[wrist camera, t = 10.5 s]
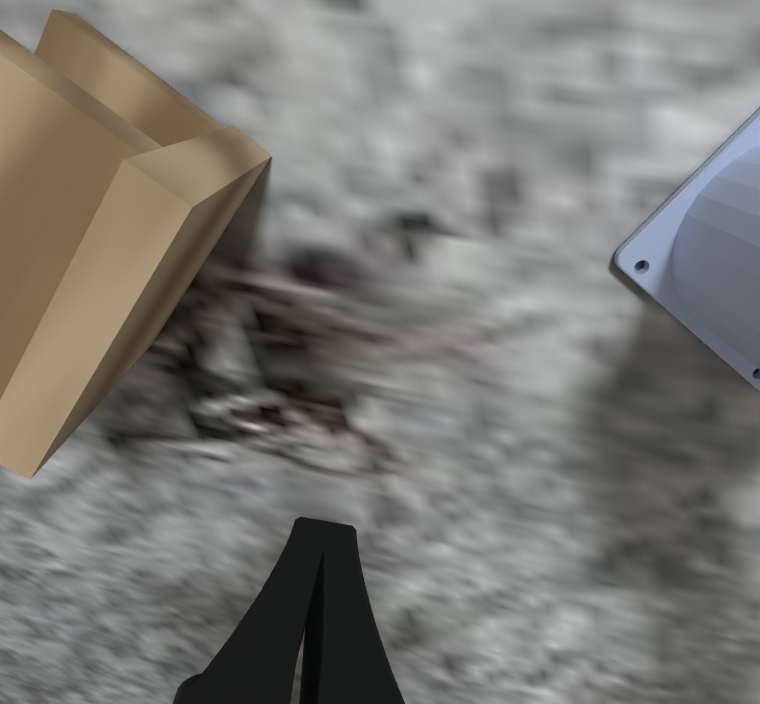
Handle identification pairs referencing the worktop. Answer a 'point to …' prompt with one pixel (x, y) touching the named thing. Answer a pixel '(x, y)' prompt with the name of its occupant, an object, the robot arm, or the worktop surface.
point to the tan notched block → (96, 223)
